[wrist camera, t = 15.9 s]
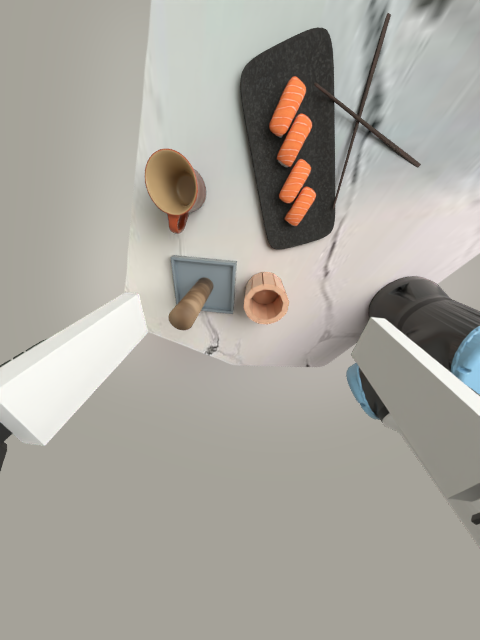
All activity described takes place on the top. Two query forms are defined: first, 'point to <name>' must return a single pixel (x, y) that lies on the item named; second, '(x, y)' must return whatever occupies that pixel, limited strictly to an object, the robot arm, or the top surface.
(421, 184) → the top surface
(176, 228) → the mug
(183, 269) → the tray
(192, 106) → the top surface
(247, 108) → the sushi plate
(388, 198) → the top surface
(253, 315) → the cup
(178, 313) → the peg
